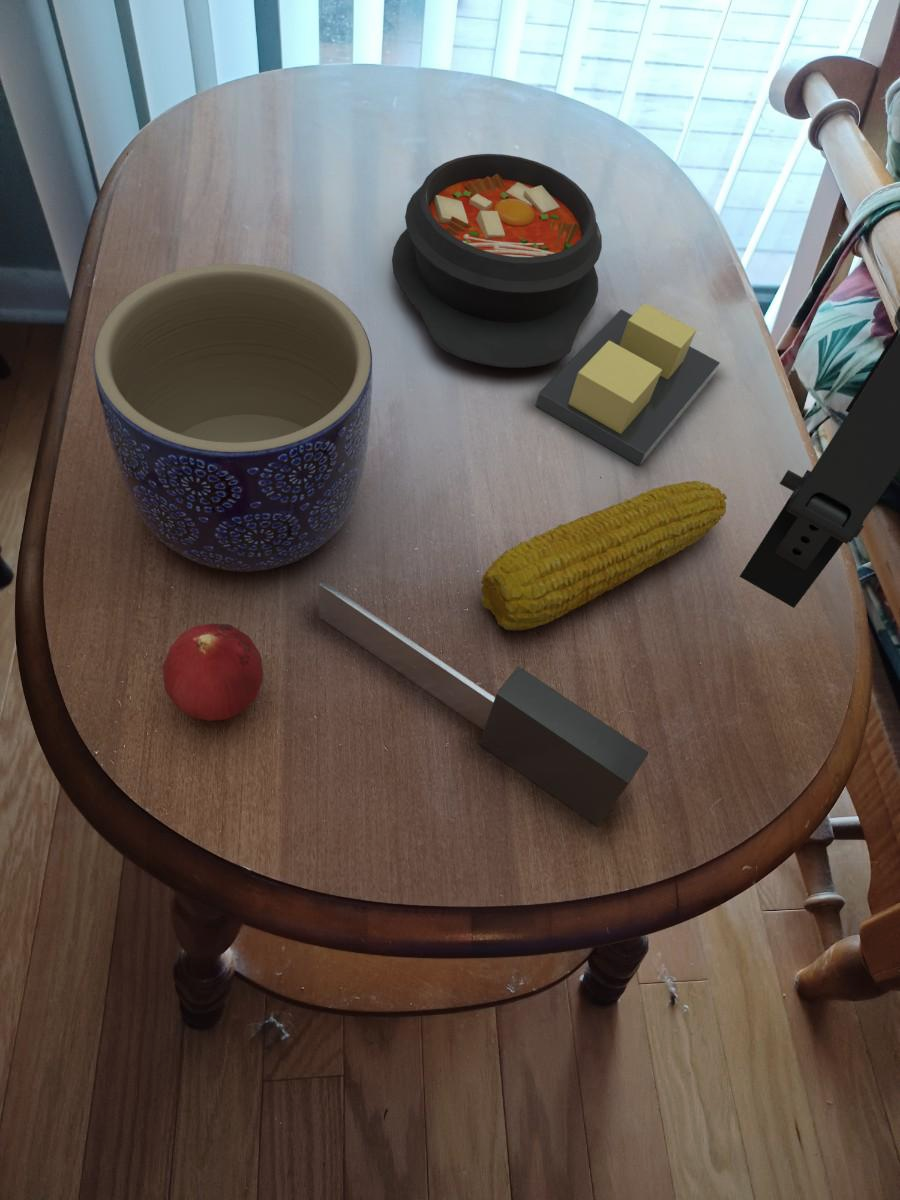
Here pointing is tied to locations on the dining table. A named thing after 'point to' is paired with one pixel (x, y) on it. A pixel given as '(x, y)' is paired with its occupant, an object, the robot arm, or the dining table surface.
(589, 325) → the dining table surface
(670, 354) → the butter pat
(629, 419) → the butter block
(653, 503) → the food
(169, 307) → the planter
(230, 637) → the onion
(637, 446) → the board
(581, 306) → the casserole
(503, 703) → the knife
